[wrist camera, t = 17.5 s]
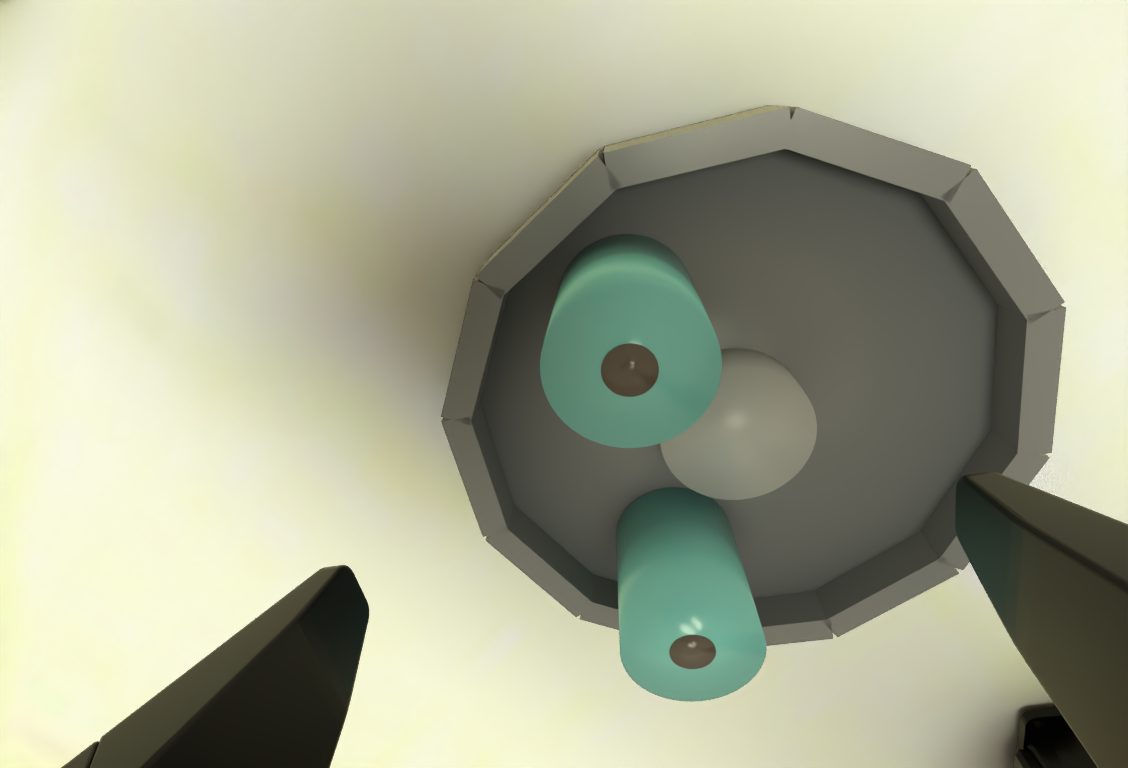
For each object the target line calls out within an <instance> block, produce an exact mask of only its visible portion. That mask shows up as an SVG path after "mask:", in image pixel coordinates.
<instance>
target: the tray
mask: <svg viewBox="0 0 1128 768" xmlns="http://www.w3.org/2000/svg"><path fill="white" fill-rule="evenodd" d="M970 167H971V165H969V164H966V163H963V162H960V161H957V160H954V159H951V158H948V157H945V156H942V155H939V154H936V153H933V152H930V151H927V150H924V149H921V148H918V147H915V146H912V145H909V144H906V143H903V142H900V141H897V140H894V139H891V138H888V137H885V136H882V135H879V134H876V133H873V132H870V131H867V130H864V129H861V128H858V127H855V126H852V125H849V124H846V123H843V122H840V121H837V120H834V119H831V118H828V117H825V116H822V115H819V114H816V113H813V112H810V111H807V110H804V109H801V108H798V107H788V106H764V107H760V108H756V109H752V110H748V111H744V112H740V113H736V114H732V115H728V116H724V117H720V118H716V119H712V120H708V121H704V122H700V123H696V124H692V125H688V126H684V127H680V128H676V129H672V130H668V131H664V132H660V133H656V134H652V135H648V136H644V137H640V138H635V139H631V140H627V141H623V142H619V143H615V144H611V145H607V146H605V147H604V154H603V153H602V152H601V151H600V149H599V150H598V151H597V152H596V153H595V154H594V155H593V156H592V157H591V158H590V159H589V160H588V161H587V162H586V163H585V164H584V165H583V166H582V167H581V168H580V169H579V170H578V171H577V172H576V173H575V174H574V175H573V176H572V177H571V178H570V179H569V180H568V181H567V182H566V183H565V184H564V185H563V186H562V187H561V188H559V189H558V190H557V191H556V192H555V193H554V194H553V195H552V196H551V197H550V198H549V199H548V200H547V201H546V202H545V203H544V204H543V205H542V206H541V207H540V208H539V209H538V210H537V211H536V212H535V213H534V214H533V215H532V216H531V217H530V218H529V219H528V220H527V221H526V222H525V223H524V224H523V225H522V226H521V227H520V228H519V229H518V230H517V231H516V232H515V233H514V234H513V235H512V236H511V237H510V238H509V239H508V240H507V241H506V242H505V243H504V244H503V245H502V246H501V247H500V248H499V249H498V250H497V251H496V252H494V253H493V254H492V255H491V257H490V258H489V259H488V260H487V262H486V263H485V264H484V266H483V267H482V268H481V270H480V271H479V272H478V273H477V275H476V277H475V279H474V280H473V283H472V287H471V292H470V296H469V300H468V304H467V309H466V313H465V317H464V321H463V325H462V330H461V334H460V338H459V342H458V347H457V351H456V355H455V359H454V364H453V368H452V372H451V376H450V381H449V385H448V389H447V393H446V398H445V402H444V406H443V410H442V415H441V417H443V419H442V421H441V422H442V425H443V428H444V431H445V433H446V436H447V439H448V442H449V444H450V447H451V450H452V453H453V455H454V458H455V461H456V464H457V466H458V469H459V472H460V475H461V477H462V480H463V483H464V486H465V488H466V491H467V494H468V497H469V500H470V502H471V505H472V508H473V511H474V513H475V516H476V519H477V522H478V524H479V527H480V530H481V533H482V535H483V537H484V536H487V537H486V541H487V542H488V543H489V544H491V545H492V546H493V547H494V548H495V549H496V550H498V551H499V552H500V553H501V554H502V555H503V556H505V557H506V558H507V559H508V560H509V561H511V562H512V563H513V564H514V565H515V566H516V567H518V568H519V569H520V570H521V571H522V572H524V573H525V574H526V575H527V576H528V577H529V578H531V579H532V580H533V581H534V582H535V583H536V584H538V585H539V586H540V587H541V588H542V589H544V590H545V591H546V592H547V593H548V594H549V595H551V596H552V597H553V598H554V599H555V600H557V601H558V602H559V603H560V604H561V605H562V606H564V607H565V608H566V609H567V610H568V611H569V612H571V613H572V614H573V615H574V616H575V617H577V616H579V615H580V619H581V620H585V621H588V622H592V623H595V624H599V625H603V626H606V627H610V628H613V629H617V630H619V608H618V580H617V553H616V529H617V524H618V522H619V519H620V517H621V515H622V513H623V512H624V511H625V510H626V508H627V507H628V506H629V505H630V504H631V503H632V502H634V501H635V500H636V499H638V498H640V497H641V496H643V495H645V494H647V493H650V492H652V491H656V490H660V489H665V488H685V489H691V490H694V491H696V492H698V493H700V494H702V495H705V496H708V497H710V498H712V499H713V500H715V501H716V502H717V503H718V504H719V505H720V506H721V507H722V508H723V510H724V511H725V513H726V515H727V517H728V519H729V522H730V525H731V528H732V531H733V535H734V538H735V541H736V544H737V548H738V551H739V554H740V557H741V561H742V564H743V567H744V570H745V574H746V577H747V580H748V584H749V587H750V590H751V593H752V597H753V600H754V603H755V606H756V610H757V613H758V616H759V619H760V623H761V626H762V629H763V632H764V636H765V640H766V646H769V645H778V644H787V643H797V642H806V641H815V640H824V639H833V635H832V632H833V633H834V634H835V635H836V636H837V637H839V636H841V635H843V634H845V633H846V632H848V631H850V630H852V629H854V628H856V627H858V626H860V625H862V624H864V623H865V622H867V621H869V620H871V619H873V618H875V617H877V616H879V615H881V614H883V613H885V612H886V611H888V610H890V609H892V608H894V607H896V606H898V605H900V604H902V603H904V602H906V601H907V600H909V599H911V598H913V597H915V596H917V595H919V594H921V593H923V592H925V591H926V590H928V589H930V588H932V587H934V586H936V585H938V584H940V583H942V582H944V581H946V580H947V579H949V578H951V577H953V576H955V575H957V574H959V573H958V571H957V570H956V569H955V568H958V569H961V570H964V568H965V567H966V566H967V564H968V563H969V562H970V561H969V559H968V557H967V555H966V553H965V552H964V550H963V548H962V546H961V544H960V542H959V540H958V537H957V534H956V530H955V492H956V482H957V479H958V478H959V477H960V476H962V475H966V474H972V473H979V472H986V471H993V472H996V473H999V474H1002V475H1004V476H1007V477H1009V478H1012V479H1014V480H1017V481H1019V482H1022V483H1024V484H1027V485H1029V484H1030V482H1031V481H1032V480H1033V478H1034V477H1035V476H1036V475H1037V473H1038V472H1039V471H1040V469H1041V468H1042V467H1043V465H1044V464H1045V463H1046V462H1047V460H1048V459H1049V457H1048V456H1047V455H1046V453H1052V444H1053V434H1054V424H1055V414H1056V403H1057V393H1058V383H1059V373H1060V363H1061V353H1062V343H1063V332H1064V322H1065V312H1066V307H1063V306H1061V304H1063V303H1064V300H1063V299H1062V297H1061V296H1060V294H1059V293H1058V291H1057V290H1056V288H1055V287H1054V285H1053V284H1052V282H1051V281H1050V279H1049V278H1048V276H1047V275H1046V273H1045V272H1044V270H1043V269H1042V267H1041V266H1040V264H1039V263H1038V261H1037V260H1036V258H1035V257H1034V255H1033V254H1032V252H1031V251H1030V249H1029V248H1028V246H1027V245H1026V243H1025V242H1024V240H1023V239H1022V237H1021V236H1020V234H1019V232H1018V231H1017V229H1016V228H1015V226H1014V225H1013V223H1012V222H1011V220H1010V219H1009V217H1008V216H1007V214H1006V213H1005V211H1004V210H1003V208H1002V207H1001V205H1000V204H999V202H998V201H997V199H996V198H995V196H994V195H993V193H992V192H991V190H990V189H989V187H988V186H987V184H986V183H985V181H984V180H983V178H982V177H981V175H980V174H979V172H978V171H977V169H973V168H970ZM618 234H636V235H642V236H646V237H649V238H652V239H654V240H657V241H659V242H660V243H662V244H664V245H666V246H667V247H668V248H669V249H671V250H672V251H673V252H674V253H675V254H676V255H677V256H678V257H679V258H680V260H681V261H682V262H683V264H684V265H685V267H686V269H687V271H688V273H689V275H690V277H691V279H692V282H693V284H694V286H695V288H696V291H697V293H698V295H699V297H700V300H701V302H702V304H703V306H704V309H705V311H706V313H707V315H708V318H709V320H710V322H711V324H712V327H713V329H714V331H715V333H716V336H717V339H718V342H719V345H720V350H721V358H722V370H721V378H720V382H719V386H718V389H717V392H716V394H715V397H714V399H713V400H712V402H711V404H710V406H709V407H708V409H707V410H706V411H705V413H704V414H703V415H702V416H701V417H700V418H699V419H698V421H697V422H696V423H695V424H693V425H692V426H691V427H690V428H688V429H687V430H686V431H684V432H683V433H681V434H679V435H678V436H676V437H674V438H672V439H670V440H668V441H665V442H662V443H659V444H656V445H652V446H647V447H640V448H619V447H612V446H607V445H603V444H600V443H597V442H594V441H592V440H589V439H587V438H585V437H583V436H581V435H580V434H578V433H577V432H575V431H574V430H572V429H571V428H570V427H569V426H568V425H566V424H565V423H564V422H563V421H562V420H561V418H560V417H559V416H558V415H557V414H556V412H555V411H554V410H553V408H552V407H551V405H550V403H549V401H548V399H547V397H546V395H545V392H544V389H543V386H542V381H541V376H540V358H541V352H542V347H543V343H544V339H545V336H546V332H547V329H548V325H549V321H550V318H551V314H552V310H553V307H554V303H555V299H556V296H557V292H558V288H559V285H560V281H561V279H562V276H563V274H564V272H565V270H566V268H567V266H568V265H569V263H570V262H571V261H572V259H573V258H574V257H575V256H576V255H577V254H578V253H579V252H580V251H581V250H583V249H584V248H585V247H586V246H588V245H590V244H591V243H593V242H595V241H597V240H600V239H602V238H605V237H608V236H612V235H618Z"/></svg>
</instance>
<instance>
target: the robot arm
mask: <svg viewBox="0 0 1128 768" xmlns="http://www.w3.org/2000/svg"><path fill="white" fill-rule="evenodd" d="M955 530H956V534H957V537H958V540H959V542H960V544H961V546H962V548H963V550H964V552H965V553H966V555H967V557H968V559H969V561H970V563H971V565H972V567H973V569H974V570H975V572H976V574H977V576H978V578H979V580H980V582H981V584H982V585H983V587H984V589H985V591H986V593H987V595H988V597H989V599H990V600H991V602H992V604H993V606H994V608H995V610H996V612H997V614H998V615H999V617H1000V619H1001V621H1002V623H1003V625H1004V627H1005V628H1006V630H1007V632H1008V634H1009V636H1010V637H1011V639H1012V641H1013V643H1014V644H1015V646H1016V647H1017V649H1018V650H1019V652H1020V654H1021V655H1022V657H1023V658H1024V660H1025V661H1026V663H1027V664H1028V666H1029V667H1030V669H1031V670H1032V672H1033V673H1034V675H1035V676H1036V677H1037V679H1038V680H1039V682H1040V683H1041V685H1042V686H1043V688H1044V689H1045V691H1046V692H1047V694H1048V695H1049V697H1050V698H1051V700H1052V701H1053V702H1054V704H1055V705H1056V707H1050V708H1038V709H1030V710H1027V711H1025V712H1023V713H1022V714H1021V716H1020V723H1019V734H1018V745H1017V750H1016V753H1015V755H1014V764H1013V768H1128V524H1126V523H1123V522H1120V521H1118V520H1115V519H1113V518H1110V517H1108V516H1105V515H1103V514H1100V513H1098V512H1095V511H1093V510H1090V509H1088V508H1085V507H1083V506H1080V505H1078V504H1075V503H1072V502H1070V501H1067V500H1065V499H1062V498H1060V497H1057V496H1055V495H1052V494H1050V493H1047V492H1045V491H1042V490H1040V489H1037V488H1035V487H1032V486H1029V485H1027V484H1024V483H1022V482H1019V481H1017V480H1014V479H1012V478H1009V477H1007V476H1004V475H1002V474H999V473H996V472H993V471H986V472H979V473H972V474H966V475H962V476H960V477H959V478H958V479H957V482H956V492H955ZM368 619H369V607H368V603H367V600H366V598H365V596H364V594H363V592H362V590H361V588H360V586H359V583H358V581H357V579H356V577H355V575H354V573H353V571H352V570H351V569H350V568H349V567H348V566H346V565H339V566H332V567H325V568H322V569H320V570H319V571H317V572H316V573H315V574H313V575H312V576H311V577H309V578H308V579H307V580H305V581H304V582H303V583H302V584H300V585H299V586H298V587H296V588H295V589H294V590H292V591H291V592H290V593H288V594H287V595H286V596H285V597H283V598H282V599H281V600H279V601H278V602H277V603H275V604H274V605H273V606H272V607H270V608H269V609H268V610H266V611H265V612H264V613H262V614H261V615H260V616H259V617H257V618H256V619H255V620H253V621H252V622H251V623H249V624H248V625H247V626H246V627H244V628H243V629H242V630H240V631H239V632H238V633H236V634H235V635H234V636H232V637H231V638H230V639H229V640H227V641H226V642H225V643H223V644H222V645H221V646H219V647H218V648H217V649H216V650H214V651H213V652H212V653H210V654H209V655H208V656H206V657H205V658H204V659H203V660H201V661H200V662H199V663H197V664H196V665H195V666H193V667H192V668H191V669H190V670H188V671H187V672H186V673H184V674H183V675H182V676H180V677H179V678H178V679H176V680H175V681H174V682H173V683H171V684H170V685H169V686H167V687H166V688H165V689H163V690H162V691H161V692H160V693H158V694H157V695H156V696H154V697H153V698H152V699H150V700H149V701H148V702H147V703H145V704H144V705H143V706H141V707H140V708H139V709H137V710H136V711H135V712H133V713H132V714H131V715H130V716H128V717H127V718H126V719H124V720H123V721H122V722H120V723H119V724H118V725H117V726H115V727H114V728H113V729H111V730H110V731H109V732H107V733H106V734H105V735H104V736H102V737H101V739H100V742H94V743H93V744H92V745H90V746H89V747H88V748H86V749H85V750H84V751H82V752H81V753H80V754H79V755H77V756H76V757H75V758H73V759H72V760H71V761H69V762H68V763H67V764H66V765H64V766H63V767H62V768H330V765H331V762H332V759H333V756H334V753H335V750H336V747H337V743H338V740H339V737H340V734H341V731H342V728H343V725H344V722H345V718H346V715H347V711H348V708H349V704H350V700H351V696H352V691H353V687H354V682H355V678H356V673H357V669H358V664H359V660H360V656H361V651H362V647H363V642H364V638H365V633H366V629H367V624H368Z"/></svg>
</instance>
